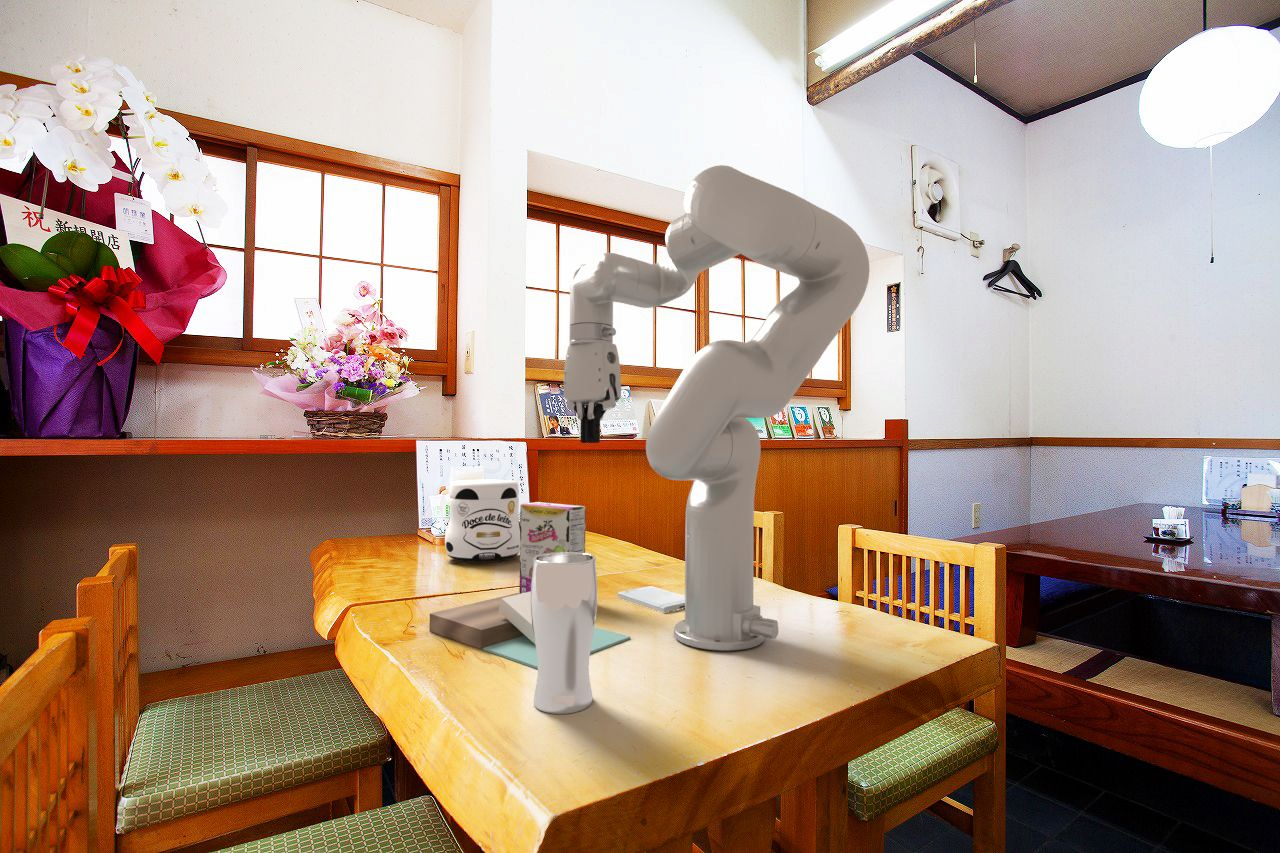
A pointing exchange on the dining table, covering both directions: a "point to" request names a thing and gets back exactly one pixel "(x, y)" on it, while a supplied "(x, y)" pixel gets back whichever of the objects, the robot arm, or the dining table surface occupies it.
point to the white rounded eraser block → (519, 612)
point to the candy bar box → (548, 534)
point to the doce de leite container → (483, 521)
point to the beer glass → (563, 629)
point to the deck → (475, 624)
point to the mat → (527, 654)
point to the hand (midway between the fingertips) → (590, 442)
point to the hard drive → (654, 598)
